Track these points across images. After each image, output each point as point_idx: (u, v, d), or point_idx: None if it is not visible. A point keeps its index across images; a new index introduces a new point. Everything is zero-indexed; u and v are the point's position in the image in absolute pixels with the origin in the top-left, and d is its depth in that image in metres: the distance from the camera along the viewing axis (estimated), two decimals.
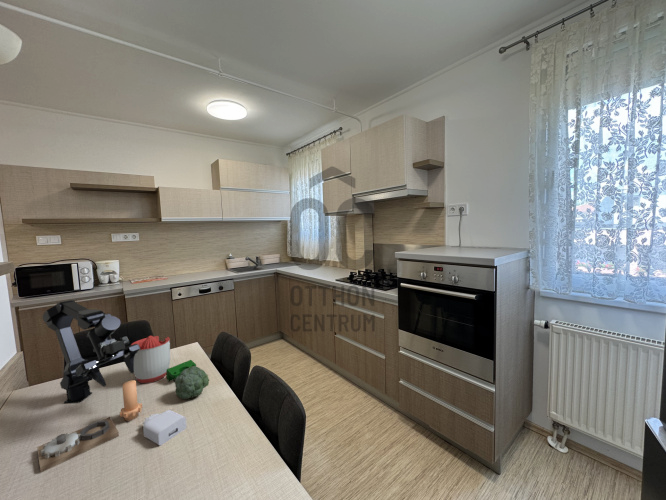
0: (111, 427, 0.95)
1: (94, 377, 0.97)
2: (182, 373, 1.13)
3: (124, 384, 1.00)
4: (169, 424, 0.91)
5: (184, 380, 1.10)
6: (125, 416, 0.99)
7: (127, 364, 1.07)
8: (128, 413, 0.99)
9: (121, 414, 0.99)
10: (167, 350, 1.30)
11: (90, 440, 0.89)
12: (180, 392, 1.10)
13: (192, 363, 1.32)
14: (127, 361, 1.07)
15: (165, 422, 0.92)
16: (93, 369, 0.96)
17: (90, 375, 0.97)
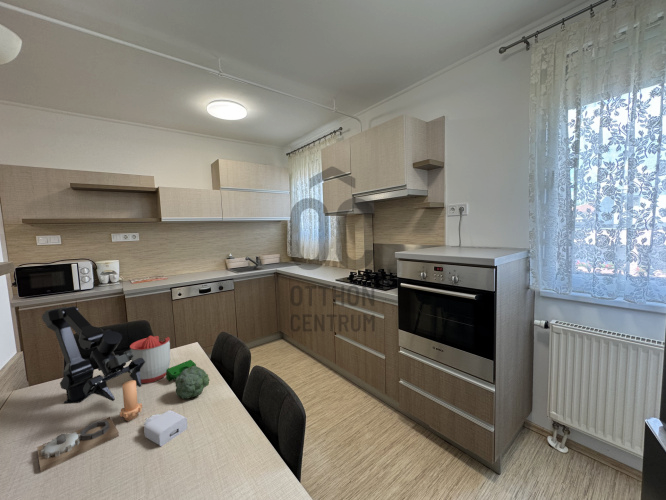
0: (111, 427, 0.95)
1: (102, 393, 0.98)
2: (182, 373, 1.13)
3: (124, 384, 1.00)
4: (170, 425, 0.91)
5: (184, 380, 1.10)
6: (125, 416, 0.99)
7: (134, 378, 1.07)
8: (128, 413, 0.99)
9: (121, 414, 0.99)
10: (167, 350, 1.30)
11: (90, 440, 0.89)
12: (180, 392, 1.10)
13: (192, 363, 1.32)
14: (133, 375, 1.08)
15: (166, 422, 0.92)
16: (100, 384, 0.96)
17: (98, 392, 0.98)
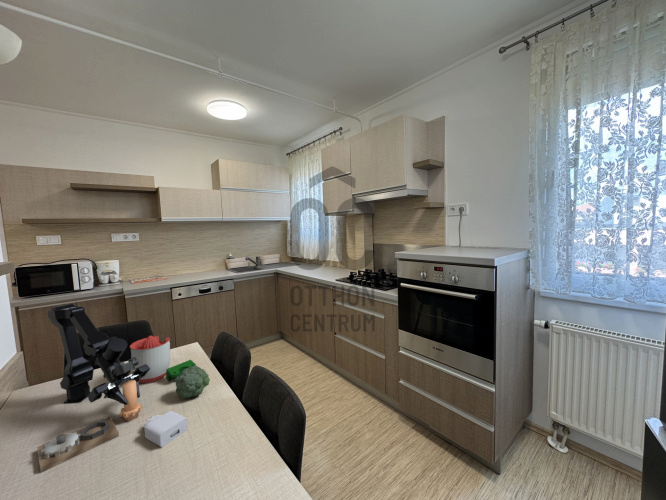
0: (111, 427, 0.95)
1: (115, 397, 0.99)
2: (183, 373, 1.14)
3: (124, 384, 1.00)
4: (171, 425, 0.90)
5: (185, 380, 1.10)
6: (125, 416, 0.99)
7: None
8: (128, 413, 0.99)
9: (121, 414, 0.99)
10: (167, 350, 1.30)
11: (90, 440, 0.89)
12: (181, 392, 1.10)
13: (192, 363, 1.33)
14: None
15: (167, 423, 0.92)
16: (113, 388, 0.98)
17: (111, 396, 0.99)
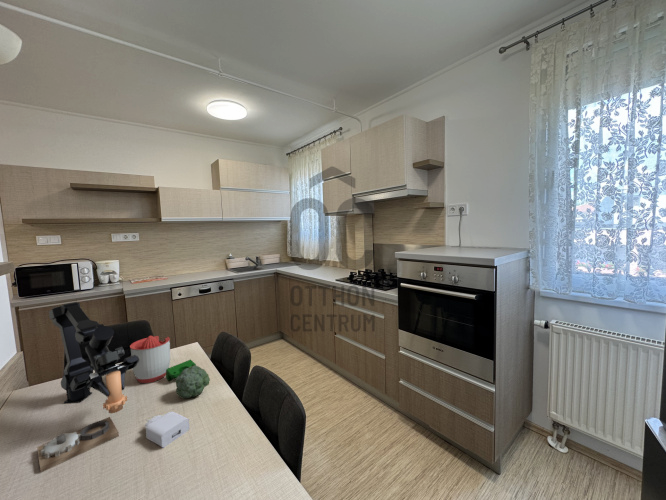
0: (111, 427, 0.95)
1: (98, 388, 0.95)
2: (183, 372, 1.14)
3: (108, 374, 0.96)
4: (172, 426, 0.90)
5: (185, 379, 1.10)
6: (107, 408, 0.94)
7: None
8: (110, 405, 0.94)
9: (104, 406, 0.95)
10: (167, 350, 1.30)
11: (90, 440, 0.89)
12: (181, 392, 1.11)
13: (192, 363, 1.33)
14: None
15: (168, 423, 0.91)
16: (95, 379, 0.93)
17: (94, 386, 0.95)
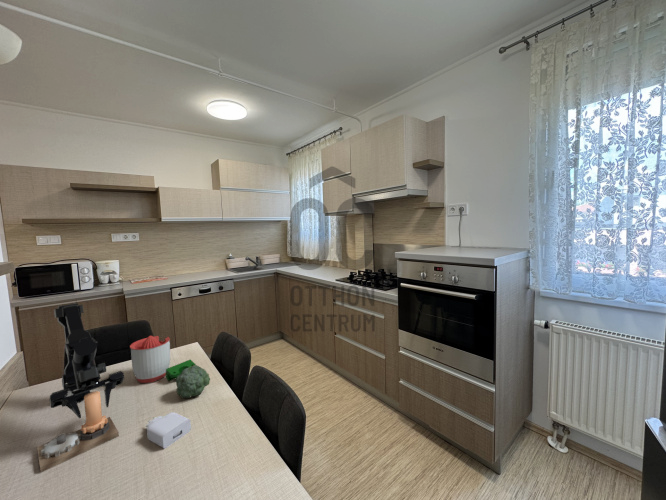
0: (111, 427, 0.95)
1: (71, 407, 0.90)
2: (183, 372, 1.14)
3: (86, 395, 0.91)
4: (173, 427, 0.90)
5: (185, 379, 1.11)
6: (83, 431, 0.89)
7: (105, 396, 0.96)
8: (87, 428, 0.90)
9: (82, 428, 0.90)
10: (167, 350, 1.30)
11: (90, 440, 0.89)
12: (181, 391, 1.11)
13: (191, 363, 1.33)
14: (105, 392, 0.96)
15: (169, 424, 0.91)
16: (67, 398, 0.88)
17: (69, 405, 0.90)
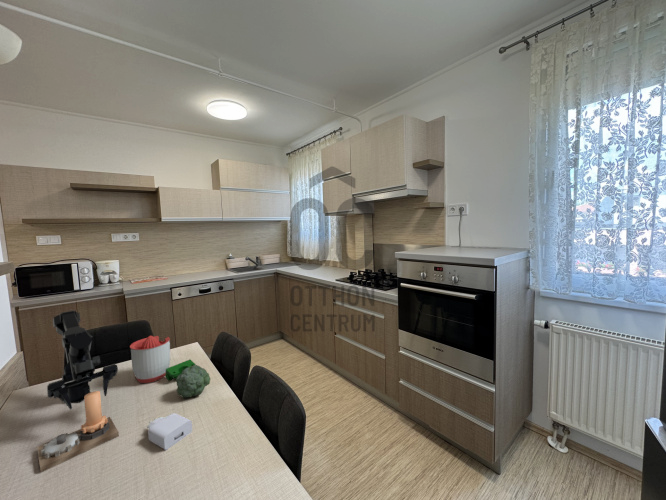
0: (111, 427, 0.95)
1: (63, 399, 0.95)
2: (183, 372, 1.14)
3: (87, 395, 0.91)
4: (175, 428, 0.89)
5: (186, 379, 1.11)
6: (83, 431, 0.89)
7: (103, 386, 1.03)
8: (87, 428, 0.90)
9: (82, 428, 0.90)
10: (167, 350, 1.30)
11: (90, 440, 0.89)
12: (182, 391, 1.11)
13: (191, 363, 1.33)
14: (103, 382, 1.03)
15: (170, 425, 0.91)
16: (59, 390, 0.93)
17: (60, 396, 0.95)
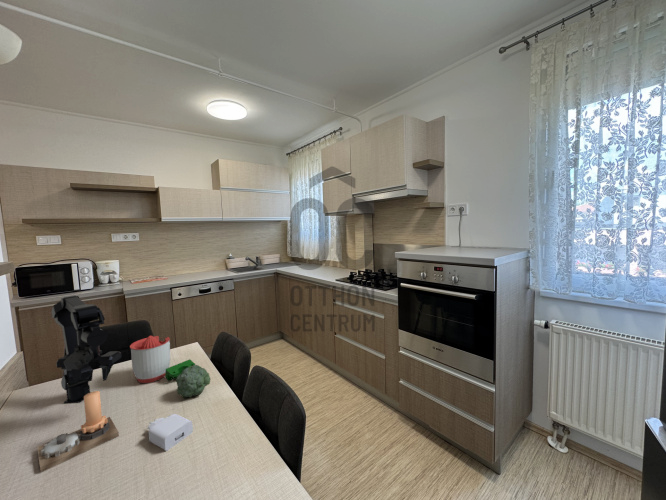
0: (111, 427, 0.95)
1: None
2: (184, 372, 1.14)
3: (86, 395, 0.91)
4: (175, 428, 0.89)
5: (186, 379, 1.11)
6: (83, 431, 0.89)
7: None
8: (87, 428, 0.90)
9: (82, 428, 0.90)
10: (167, 350, 1.30)
11: (90, 440, 0.89)
12: (182, 391, 1.11)
13: (191, 362, 1.33)
14: None
15: (171, 426, 0.90)
16: (64, 369, 0.99)
17: None
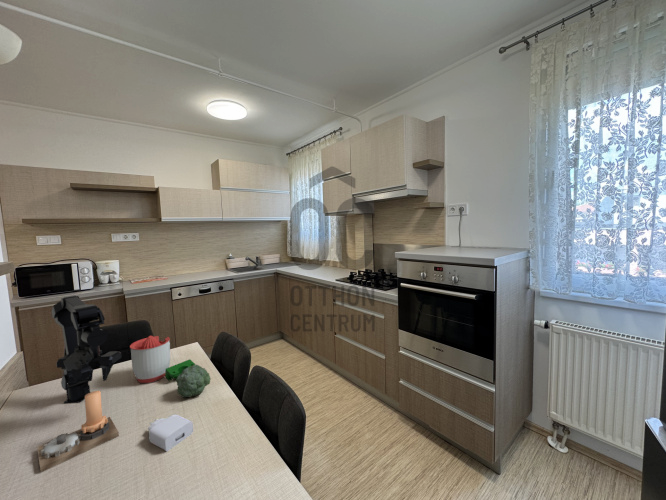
0: (111, 427, 0.95)
1: None
2: (184, 372, 1.14)
3: (87, 394, 0.91)
4: (176, 429, 0.89)
5: (186, 378, 1.11)
6: (83, 431, 0.89)
7: None
8: (87, 428, 0.90)
9: (82, 427, 0.91)
10: (167, 350, 1.30)
11: (90, 440, 0.89)
12: (182, 391, 1.11)
13: (191, 362, 1.33)
14: None
15: (171, 426, 0.90)
16: (64, 369, 0.99)
17: None
